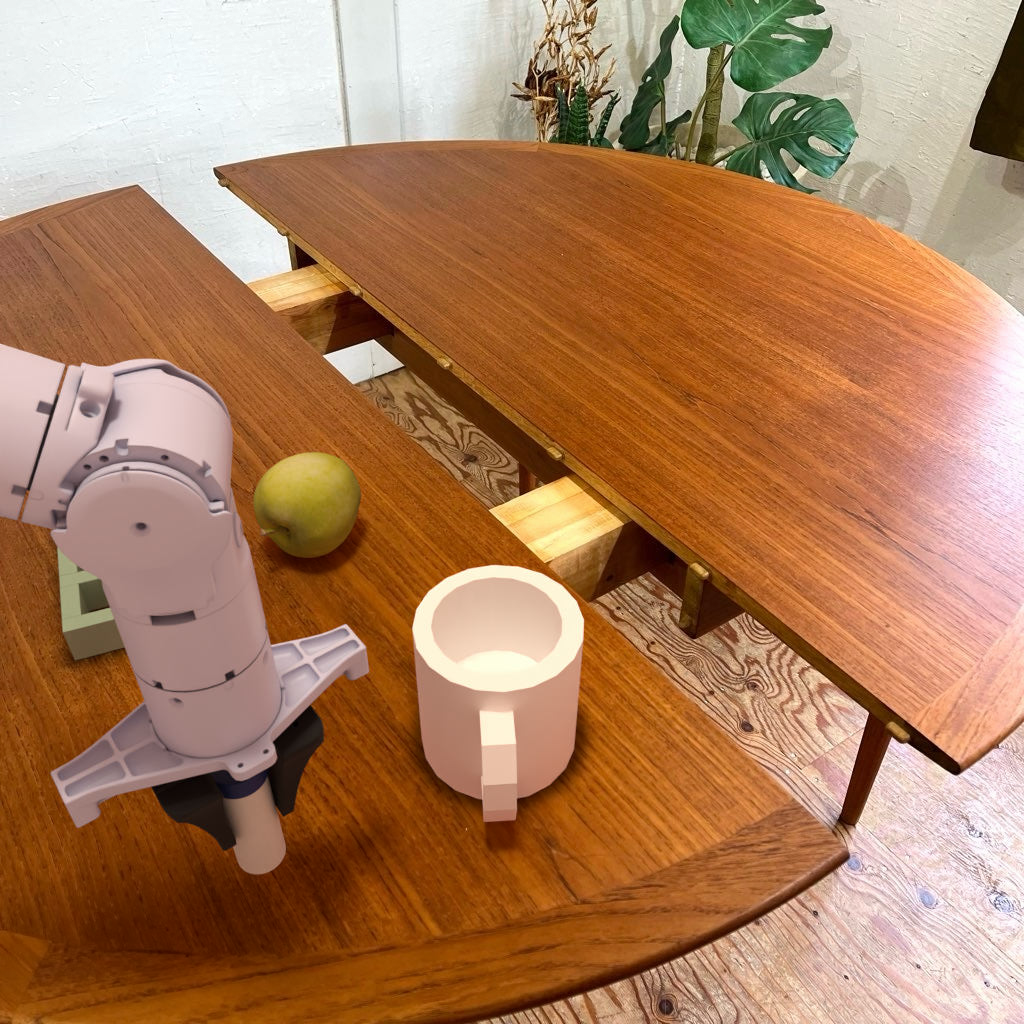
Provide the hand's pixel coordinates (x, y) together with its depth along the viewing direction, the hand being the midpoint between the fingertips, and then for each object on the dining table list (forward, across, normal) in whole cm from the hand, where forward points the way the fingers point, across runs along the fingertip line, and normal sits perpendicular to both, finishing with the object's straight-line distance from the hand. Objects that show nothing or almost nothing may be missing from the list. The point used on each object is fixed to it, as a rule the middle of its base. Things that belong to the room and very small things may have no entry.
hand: (251, 817), depth 50 cm
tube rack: (+8, +2, +31) cm, 32 cm away
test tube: (+3, 0, 0) cm, 3 cm away
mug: (+8, +16, 0) cm, 18 cm away
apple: (+8, +16, +26) cm, 31 cm away
